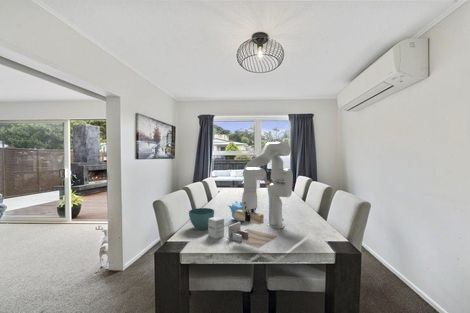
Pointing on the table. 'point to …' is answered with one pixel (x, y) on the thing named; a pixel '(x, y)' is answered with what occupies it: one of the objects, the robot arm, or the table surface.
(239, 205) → the teakettle
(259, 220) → the rail
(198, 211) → the teal bowl
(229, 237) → the bracket
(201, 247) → the table surface
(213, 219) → the supplement box
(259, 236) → the board
